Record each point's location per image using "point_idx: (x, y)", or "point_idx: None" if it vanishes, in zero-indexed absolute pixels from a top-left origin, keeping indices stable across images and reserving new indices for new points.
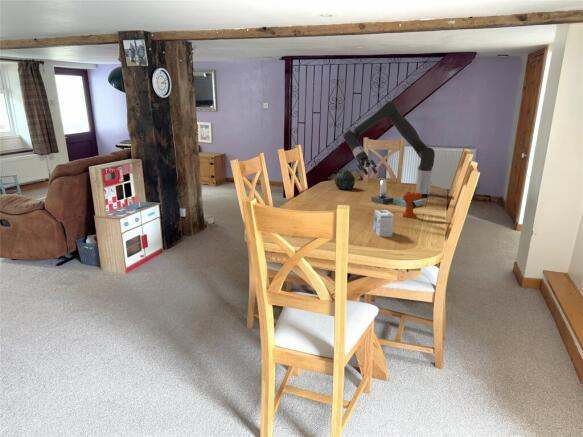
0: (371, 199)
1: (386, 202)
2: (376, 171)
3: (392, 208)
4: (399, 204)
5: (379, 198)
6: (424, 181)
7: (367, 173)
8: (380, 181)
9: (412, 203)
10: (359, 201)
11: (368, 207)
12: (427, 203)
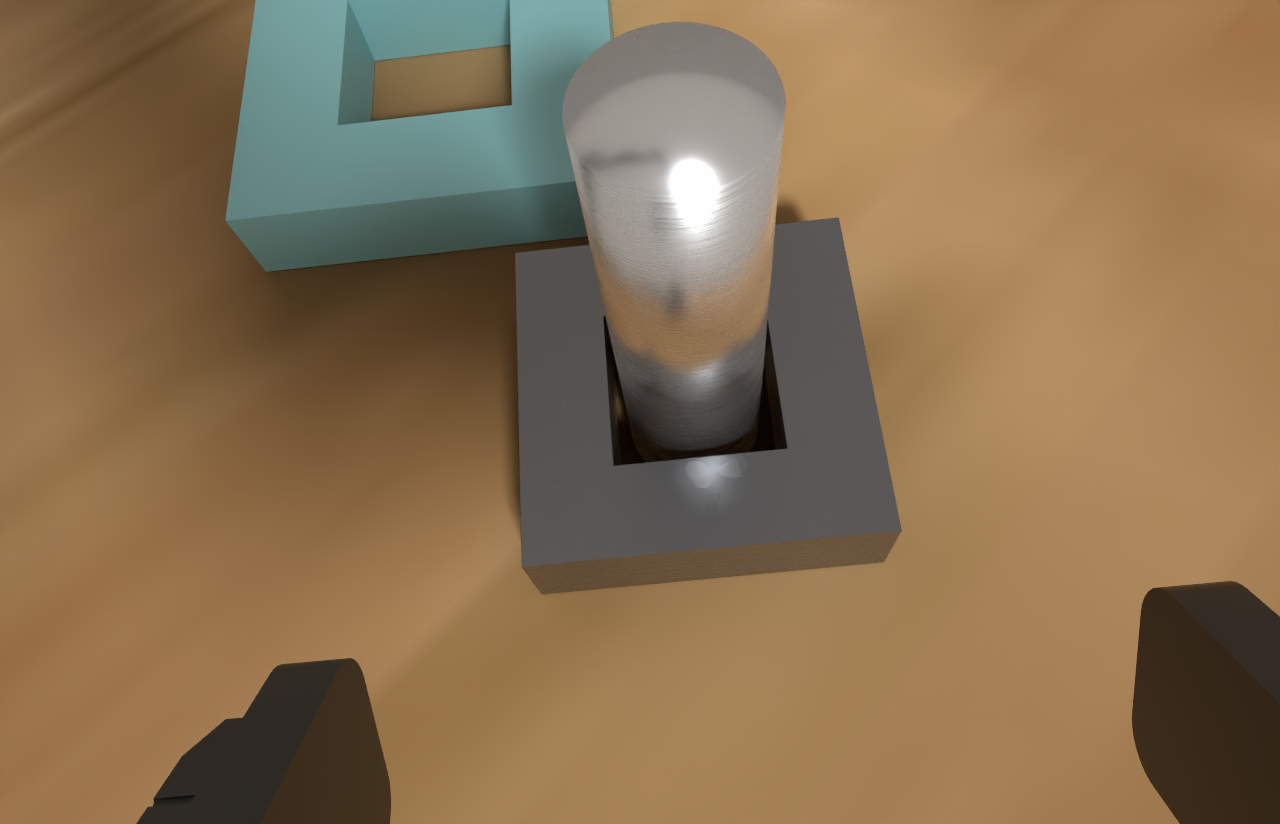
0: (888, 545)
1: None
2: (315, 681)
3: (873, 23)
4: None
5: (842, 317)
6: None
7: (1222, 584)
8: (763, 179)
9: None
10: None
11: (1243, 204)
12: (142, 41)
